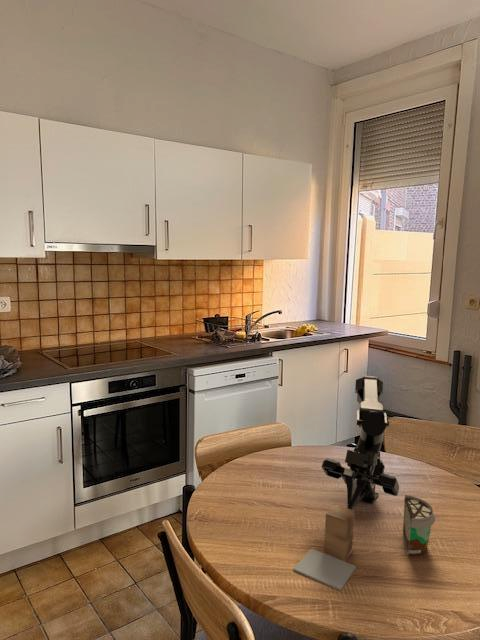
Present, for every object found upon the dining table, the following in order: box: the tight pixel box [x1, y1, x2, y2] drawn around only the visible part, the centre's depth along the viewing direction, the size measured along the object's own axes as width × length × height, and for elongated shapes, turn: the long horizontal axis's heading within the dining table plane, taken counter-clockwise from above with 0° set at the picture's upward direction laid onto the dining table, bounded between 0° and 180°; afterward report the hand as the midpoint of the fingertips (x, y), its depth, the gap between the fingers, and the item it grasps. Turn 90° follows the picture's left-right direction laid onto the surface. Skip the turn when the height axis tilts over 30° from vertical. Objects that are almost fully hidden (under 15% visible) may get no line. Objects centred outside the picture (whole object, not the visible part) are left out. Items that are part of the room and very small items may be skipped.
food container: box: [402, 494, 436, 558], centre depth 114 cm, size 12×6×10 cm, turn 168°
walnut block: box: [323, 504, 355, 562], centre depth 111 cm, size 5×5×10 cm
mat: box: [293, 548, 357, 591], centre depth 105 cm, size 9×11×1 cm
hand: (349, 508), depth 115 cm, fingers closed
